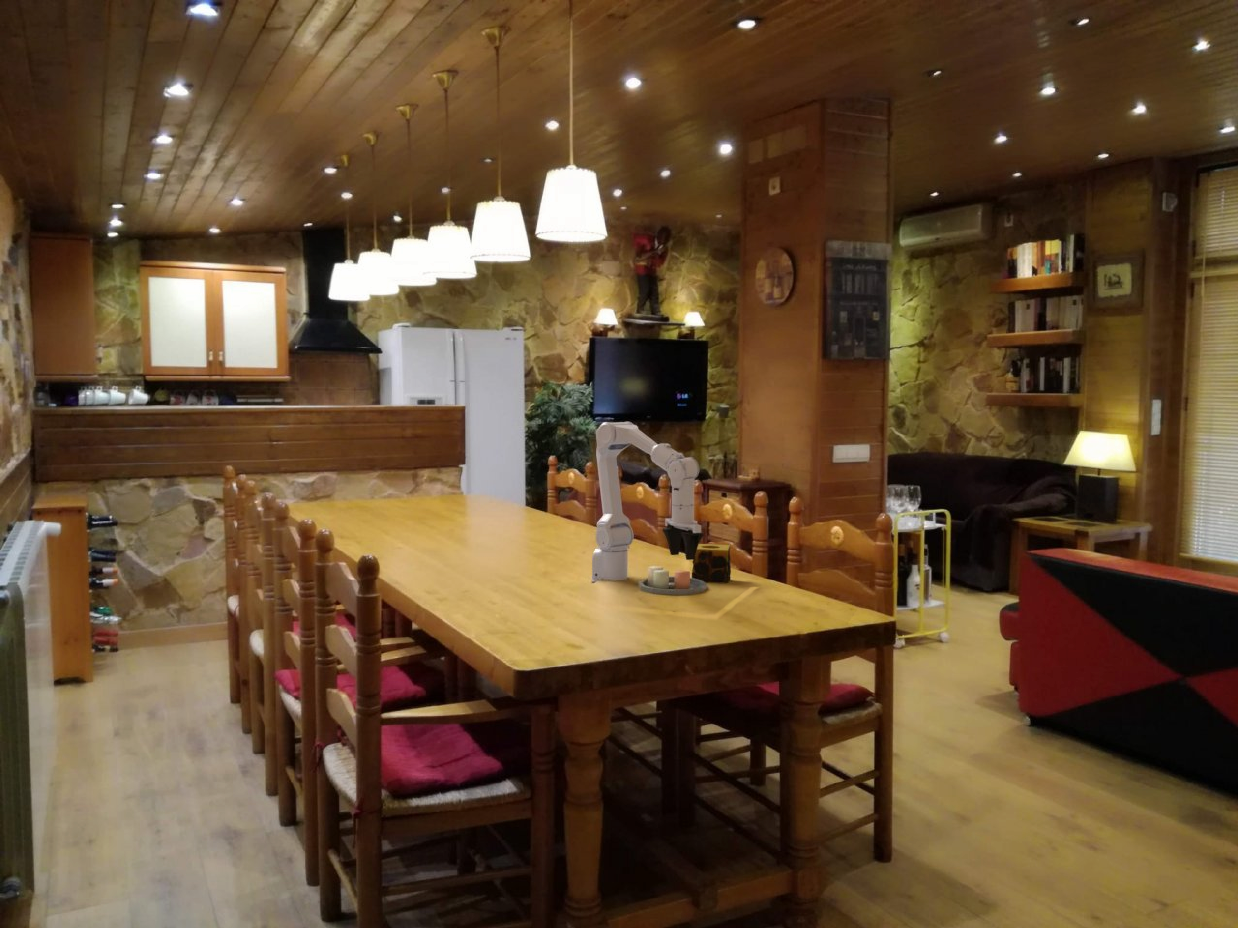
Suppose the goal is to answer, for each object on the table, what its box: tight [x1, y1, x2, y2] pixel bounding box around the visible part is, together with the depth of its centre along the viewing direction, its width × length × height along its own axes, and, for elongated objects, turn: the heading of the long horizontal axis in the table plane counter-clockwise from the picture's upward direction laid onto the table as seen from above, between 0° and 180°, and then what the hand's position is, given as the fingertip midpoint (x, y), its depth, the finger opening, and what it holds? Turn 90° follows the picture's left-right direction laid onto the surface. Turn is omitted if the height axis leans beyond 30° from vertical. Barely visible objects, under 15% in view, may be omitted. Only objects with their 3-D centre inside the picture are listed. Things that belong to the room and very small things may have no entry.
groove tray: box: [637, 576, 708, 596], centre depth 250 cm, size 18×18×2 cm
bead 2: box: [674, 570, 691, 589], centre depth 246 cm, size 4×4×5 cm
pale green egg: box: [653, 569, 670, 589], centre depth 246 cm, size 4×4×5 cm
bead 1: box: [647, 565, 664, 587], centre depth 252 cm, size 4×4×5 cm
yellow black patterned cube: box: [691, 543, 732, 584], centre depth 262 cm, size 10×10×10 cm
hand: (682, 557), depth 245 cm, fingers open, 7 cm apart
